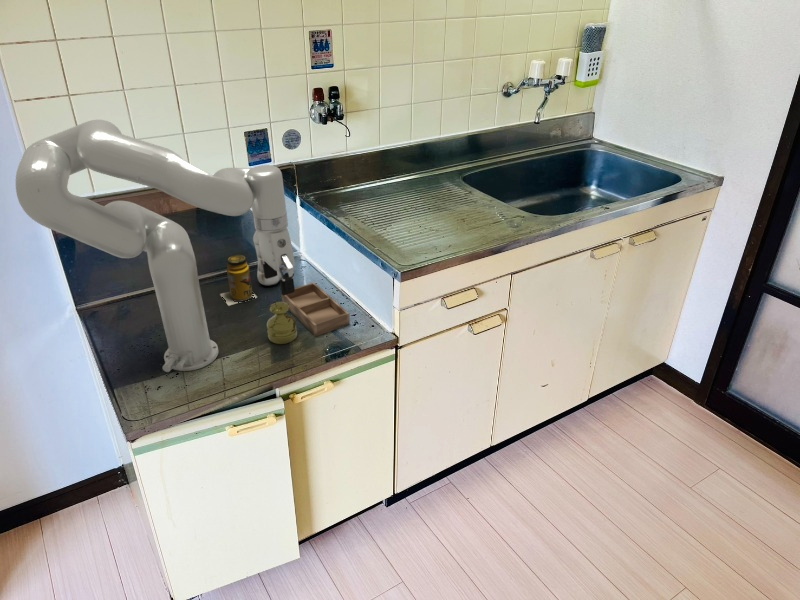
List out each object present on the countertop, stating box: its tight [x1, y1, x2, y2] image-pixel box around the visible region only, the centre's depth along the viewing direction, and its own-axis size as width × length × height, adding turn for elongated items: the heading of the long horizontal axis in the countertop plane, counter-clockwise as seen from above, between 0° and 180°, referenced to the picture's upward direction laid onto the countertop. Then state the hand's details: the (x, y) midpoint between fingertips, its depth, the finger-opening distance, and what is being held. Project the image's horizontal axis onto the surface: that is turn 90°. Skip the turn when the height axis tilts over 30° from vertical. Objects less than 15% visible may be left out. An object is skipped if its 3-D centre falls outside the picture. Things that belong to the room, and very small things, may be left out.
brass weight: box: [266, 301, 298, 345], centre depth 152 cm, size 7×7×10 cm
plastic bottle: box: [252, 229, 281, 287], centre depth 173 cm, size 6×7×20 cm
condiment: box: [219, 254, 258, 307], centre depth 168 cm, size 7×8×12 cm
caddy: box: [280, 282, 351, 337], centre depth 163 cm, size 20×10×4 cm, turn 35°
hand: (279, 284), depth 147 cm, fingers open, 9 cm apart
